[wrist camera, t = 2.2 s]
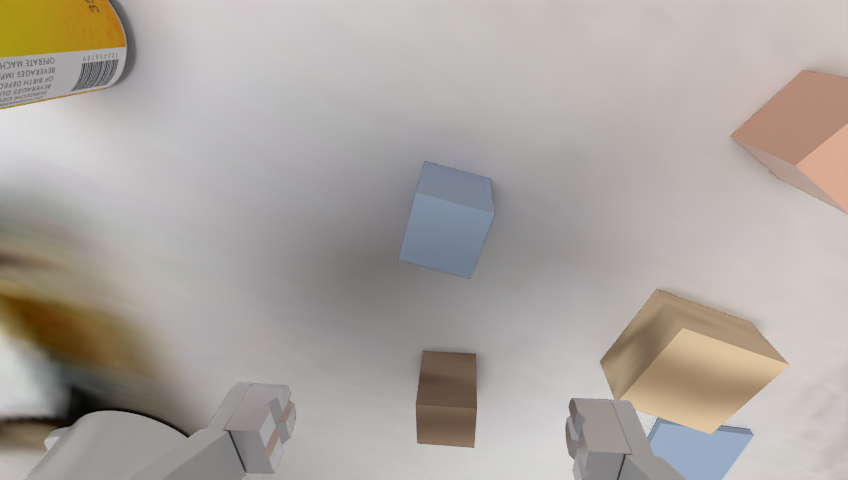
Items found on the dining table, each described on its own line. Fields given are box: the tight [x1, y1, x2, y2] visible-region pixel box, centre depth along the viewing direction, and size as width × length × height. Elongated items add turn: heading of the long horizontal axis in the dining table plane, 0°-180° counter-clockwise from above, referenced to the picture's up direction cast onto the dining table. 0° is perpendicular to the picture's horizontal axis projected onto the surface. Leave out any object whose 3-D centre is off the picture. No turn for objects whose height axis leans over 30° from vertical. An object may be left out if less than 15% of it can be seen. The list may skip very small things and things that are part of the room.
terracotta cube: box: [730, 71, 848, 214], centre depth 19 cm, size 4×4×5 cm
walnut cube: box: [416, 351, 477, 448], centre depth 30 cm, size 4×4×5 cm
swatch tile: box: [647, 418, 754, 480], centre depth 34 cm, size 7×7×1 cm
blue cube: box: [398, 161, 495, 279], centre depth 23 cm, size 4×4×5 cm
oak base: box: [600, 289, 789, 434], centre depth 27 cm, size 7×7×4 cm
